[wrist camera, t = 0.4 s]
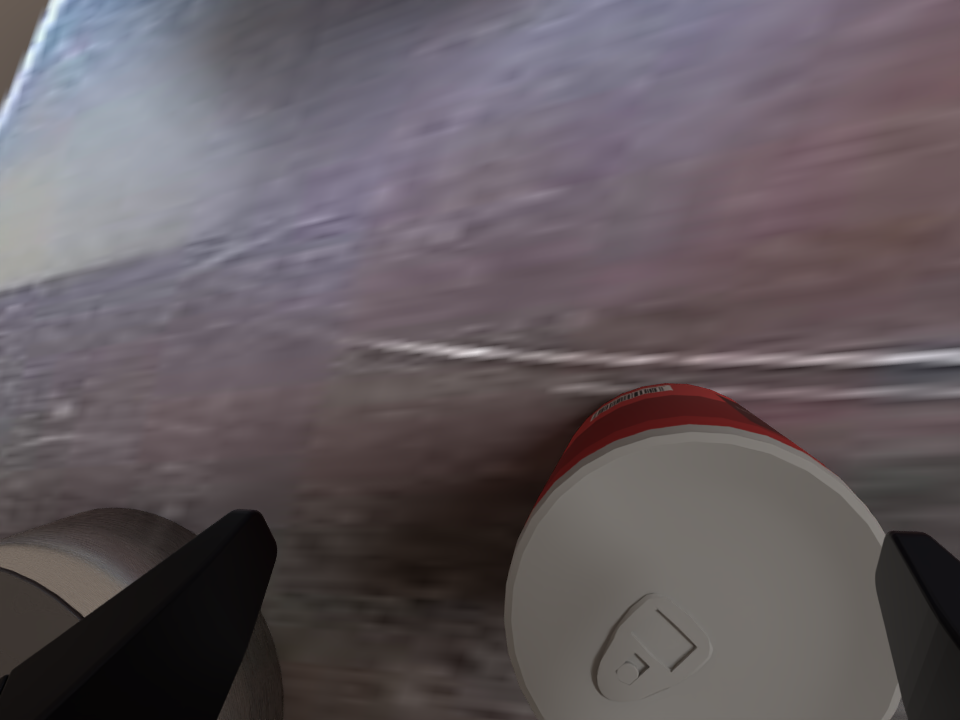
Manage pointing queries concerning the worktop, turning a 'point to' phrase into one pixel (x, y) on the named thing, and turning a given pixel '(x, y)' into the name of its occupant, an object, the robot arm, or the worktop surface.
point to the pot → (108, 593)
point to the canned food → (696, 574)
